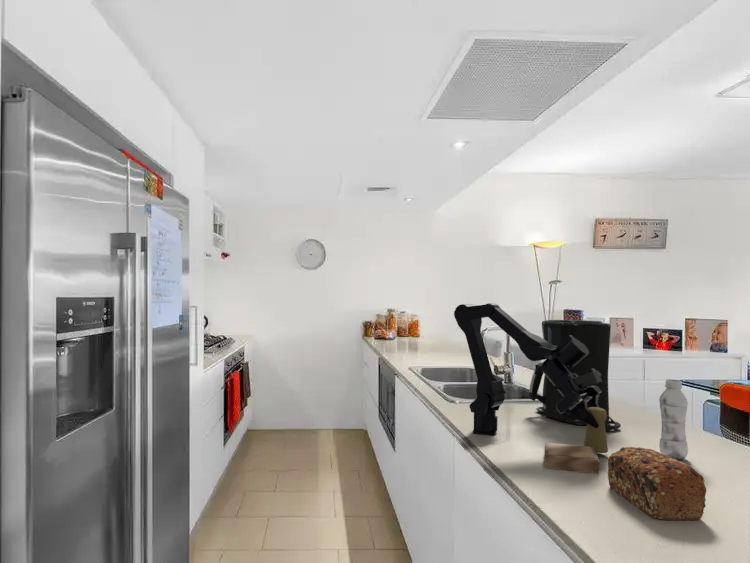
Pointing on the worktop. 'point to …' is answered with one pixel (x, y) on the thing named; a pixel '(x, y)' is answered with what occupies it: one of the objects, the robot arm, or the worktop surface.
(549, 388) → the coffee maker
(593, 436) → the cork
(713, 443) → the worktop surface
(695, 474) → the bread
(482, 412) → the robot arm
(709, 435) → the worktop surface
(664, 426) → the plastic bottle
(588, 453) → the plate
